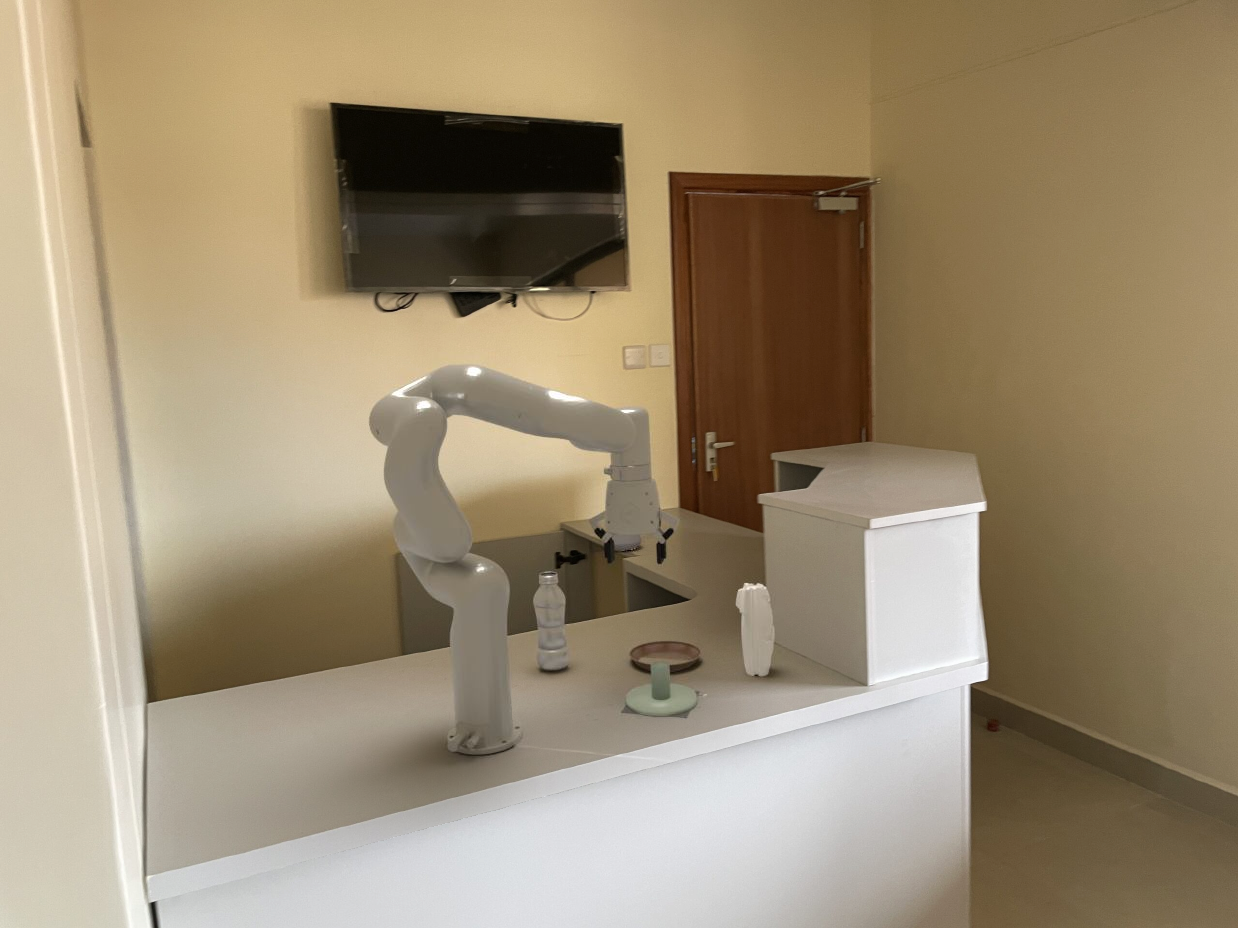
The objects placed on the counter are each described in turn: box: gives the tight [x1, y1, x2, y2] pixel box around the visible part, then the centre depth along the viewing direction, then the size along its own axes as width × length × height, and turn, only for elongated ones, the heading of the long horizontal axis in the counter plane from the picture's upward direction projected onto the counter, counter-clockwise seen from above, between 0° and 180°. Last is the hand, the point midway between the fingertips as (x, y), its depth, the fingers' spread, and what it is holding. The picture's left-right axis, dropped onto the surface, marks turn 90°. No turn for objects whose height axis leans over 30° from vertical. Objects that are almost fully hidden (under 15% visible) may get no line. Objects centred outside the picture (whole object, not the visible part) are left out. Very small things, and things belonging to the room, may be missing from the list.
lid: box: [625, 661, 698, 718], centre depth 161 cm, size 13×13×7 cm
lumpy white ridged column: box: [735, 582, 776, 677], centre depth 172 cm, size 7×18×7 cm
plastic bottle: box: [533, 571, 570, 671], centre depth 179 cm, size 6×7×20 cm
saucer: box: [628, 640, 702, 673], centre depth 181 cm, size 15×15×3 cm
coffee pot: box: [612, 534, 642, 553], centre depth 286 cm, size 21×12×15 cm, turn 145°
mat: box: [620, 690, 701, 719], centre depth 161 cm, size 12×12×1 cm
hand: (635, 561), depth 167 cm, fingers open, 9 cm apart
